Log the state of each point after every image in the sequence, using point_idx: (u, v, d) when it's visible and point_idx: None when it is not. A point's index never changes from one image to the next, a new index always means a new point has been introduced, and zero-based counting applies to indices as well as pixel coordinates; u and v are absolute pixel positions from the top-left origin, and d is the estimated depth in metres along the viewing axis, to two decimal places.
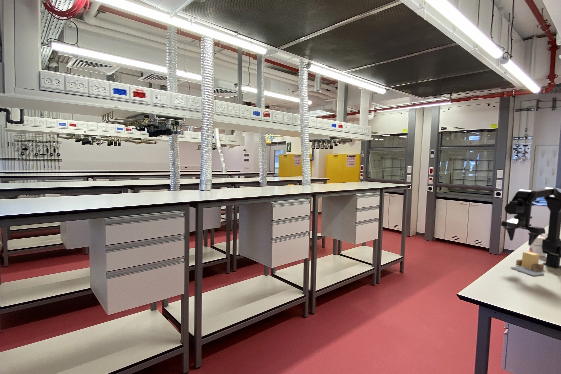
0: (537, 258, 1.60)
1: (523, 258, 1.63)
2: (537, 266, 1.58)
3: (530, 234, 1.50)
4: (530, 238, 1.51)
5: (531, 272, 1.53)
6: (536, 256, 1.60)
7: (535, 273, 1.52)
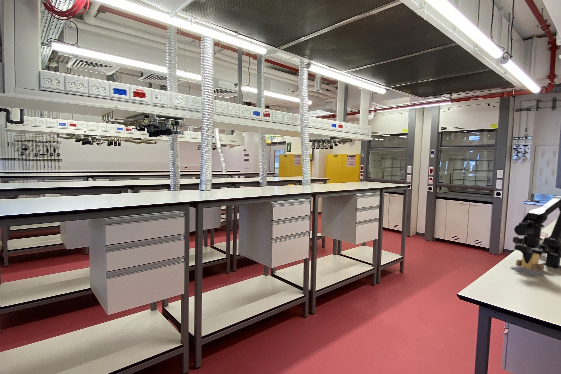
0: (537, 257, 1.60)
1: (523, 258, 1.63)
2: (537, 266, 1.58)
3: None
4: None
5: (531, 272, 1.53)
6: (536, 256, 1.60)
7: (535, 273, 1.52)
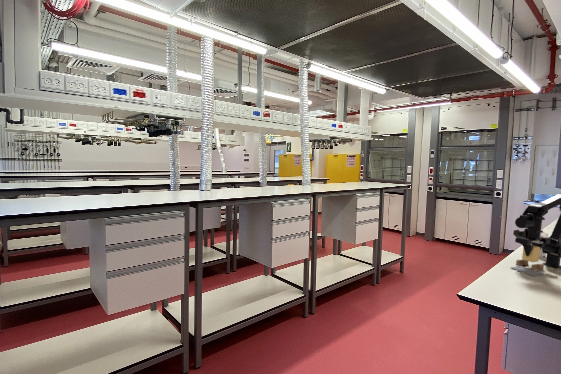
0: (538, 250, 1.60)
1: (524, 251, 1.63)
2: (537, 266, 1.58)
3: None
4: None
5: (531, 272, 1.53)
6: (537, 249, 1.60)
7: (535, 273, 1.52)
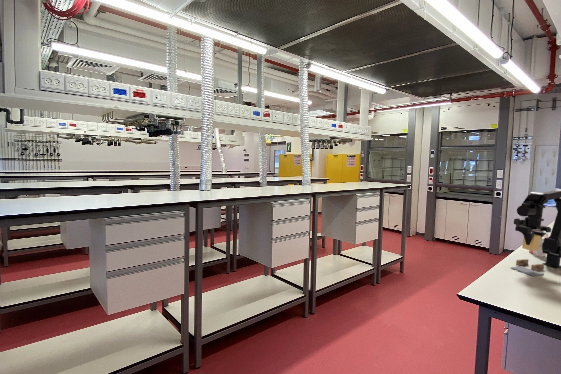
0: (539, 239, 1.57)
1: (524, 240, 1.60)
2: (537, 266, 1.58)
3: None
4: None
5: (531, 272, 1.53)
6: (537, 237, 1.57)
7: (535, 273, 1.52)
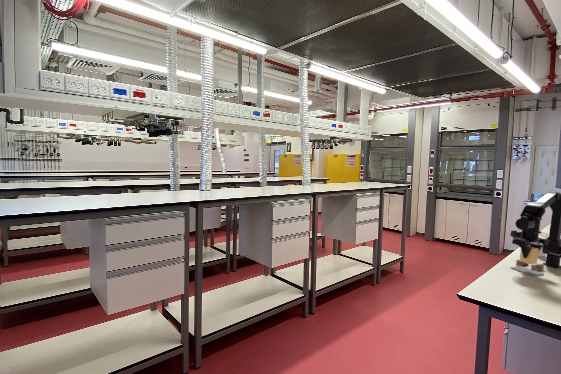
0: (536, 252, 1.53)
1: (521, 252, 1.56)
2: (537, 266, 1.58)
3: None
4: None
5: (531, 272, 1.53)
6: (535, 250, 1.53)
7: (535, 273, 1.52)
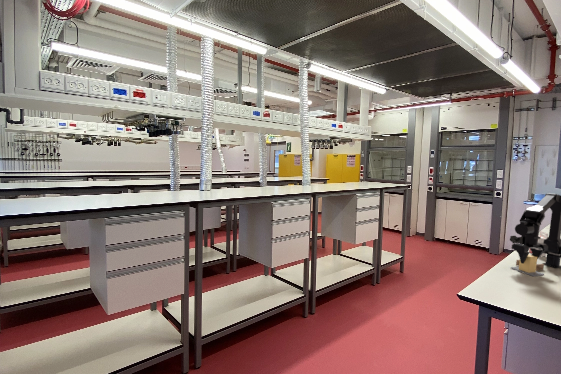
0: (535, 260, 1.53)
1: (520, 261, 1.56)
2: (537, 266, 1.58)
3: None
4: None
5: (531, 272, 1.53)
6: (534, 259, 1.53)
7: (535, 273, 1.52)
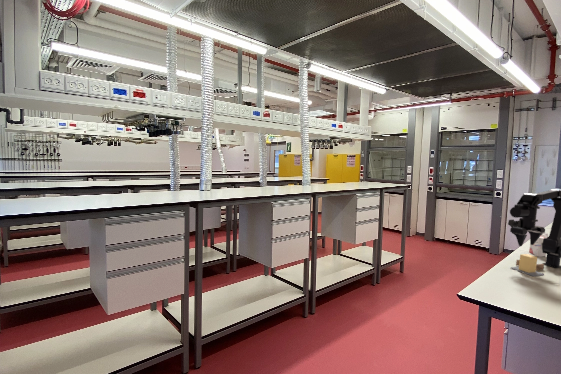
0: (535, 260, 1.53)
1: (520, 261, 1.56)
2: (537, 266, 1.58)
3: None
4: None
5: (531, 272, 1.53)
6: (534, 259, 1.53)
7: (535, 273, 1.52)
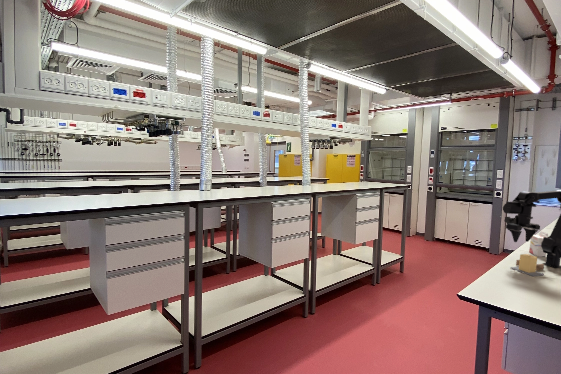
0: (535, 260, 1.53)
1: (520, 261, 1.56)
2: (537, 266, 1.58)
3: None
4: None
5: (531, 272, 1.53)
6: (534, 259, 1.53)
7: (535, 273, 1.52)
